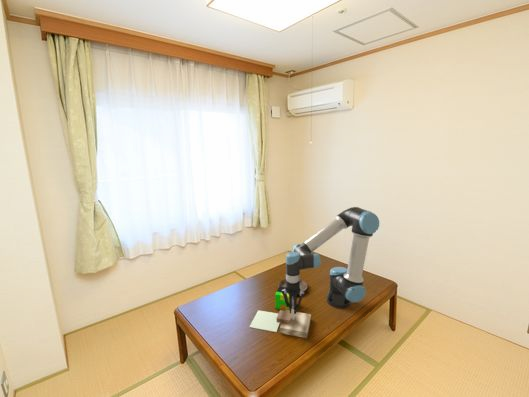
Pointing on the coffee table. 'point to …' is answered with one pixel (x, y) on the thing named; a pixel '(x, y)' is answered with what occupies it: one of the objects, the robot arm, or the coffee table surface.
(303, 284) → the plant saucer
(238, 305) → the coffee table surface
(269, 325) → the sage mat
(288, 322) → the walnut tile
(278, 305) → the puzzle toy
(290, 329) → the plate
